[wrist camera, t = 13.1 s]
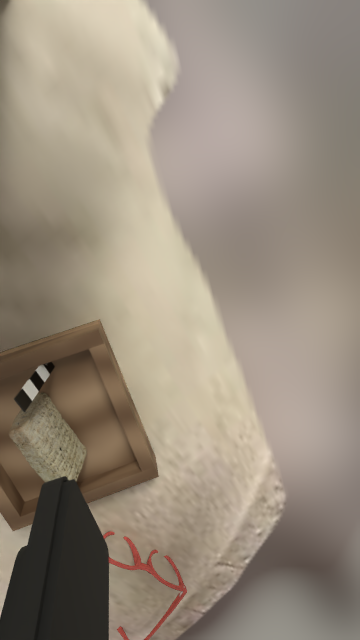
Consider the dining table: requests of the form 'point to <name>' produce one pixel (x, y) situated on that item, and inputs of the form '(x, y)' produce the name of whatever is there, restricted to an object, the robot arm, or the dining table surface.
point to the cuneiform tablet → (45, 432)
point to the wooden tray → (73, 419)
